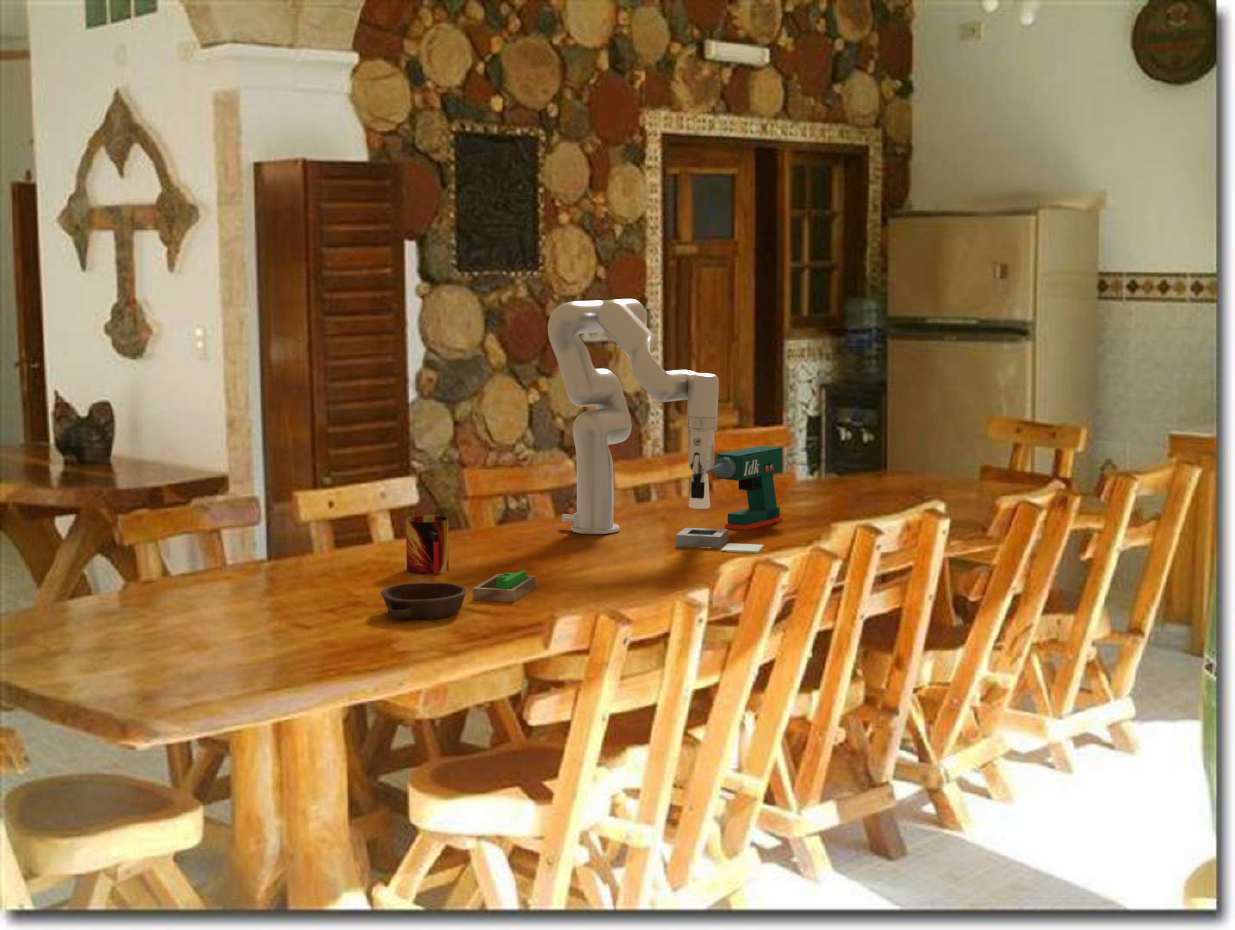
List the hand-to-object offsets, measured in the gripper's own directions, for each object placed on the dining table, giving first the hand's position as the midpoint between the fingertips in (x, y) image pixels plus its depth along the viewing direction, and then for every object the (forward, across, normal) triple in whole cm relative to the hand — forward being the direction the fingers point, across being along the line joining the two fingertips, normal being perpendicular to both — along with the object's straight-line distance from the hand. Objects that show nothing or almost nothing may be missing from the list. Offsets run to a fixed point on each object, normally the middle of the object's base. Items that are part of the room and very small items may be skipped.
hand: (699, 495), depth 417 cm
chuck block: (+12, 0, -1) cm, 12 cm away
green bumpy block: (+12, -70, +26) cm, 76 cm away
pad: (+12, -5, -12) cm, 18 cm away
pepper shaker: (+3, 0, 0) cm, 3 cm away
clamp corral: (+12, -69, +28) cm, 75 cm away
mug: (+14, -50, +51) cm, 73 cm away
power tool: (+12, +26, -6) cm, 30 cm away
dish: (+13, -91, +38) cm, 99 cm away
